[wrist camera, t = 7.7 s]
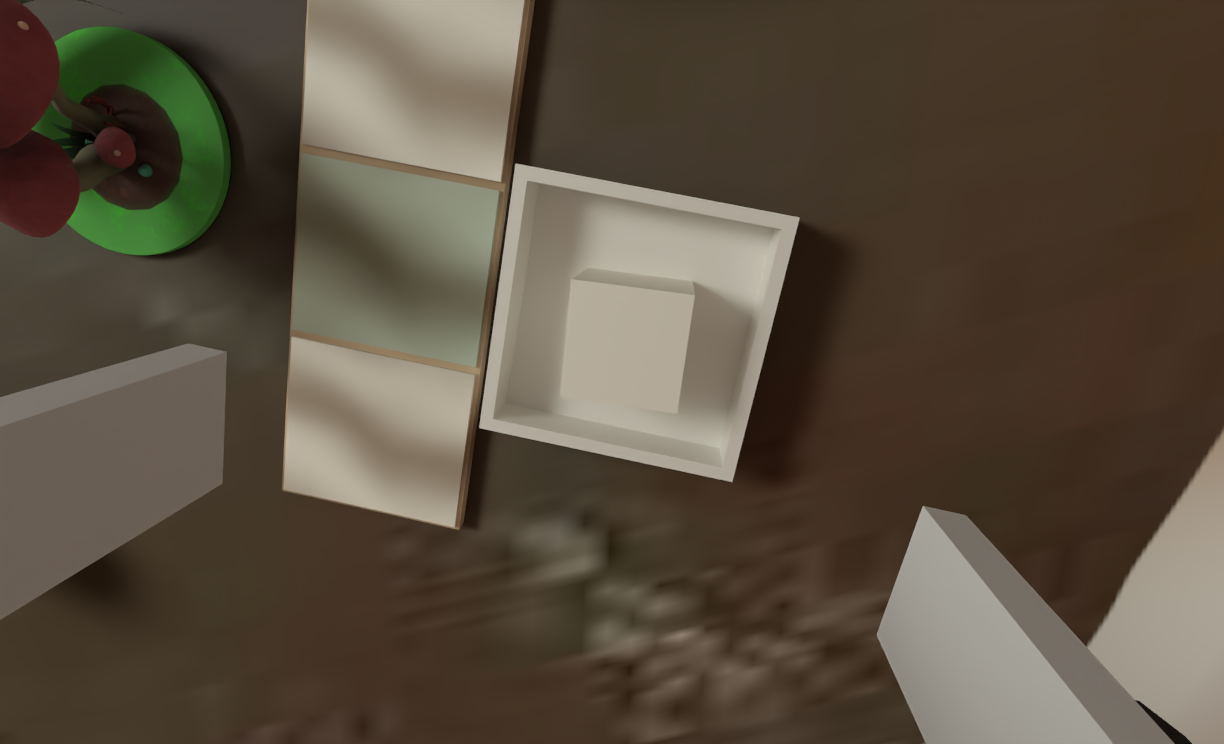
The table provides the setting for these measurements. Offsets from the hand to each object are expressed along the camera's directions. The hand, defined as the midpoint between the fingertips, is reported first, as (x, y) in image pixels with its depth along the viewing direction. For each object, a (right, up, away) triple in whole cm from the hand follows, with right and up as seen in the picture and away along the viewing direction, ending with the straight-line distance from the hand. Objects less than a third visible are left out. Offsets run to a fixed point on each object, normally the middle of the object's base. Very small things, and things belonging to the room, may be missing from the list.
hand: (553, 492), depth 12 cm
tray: (+2, +5, +20) cm, 20 cm away
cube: (+2, +4, +19) cm, 20 cm away
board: (-10, +8, +20) cm, 24 cm away
